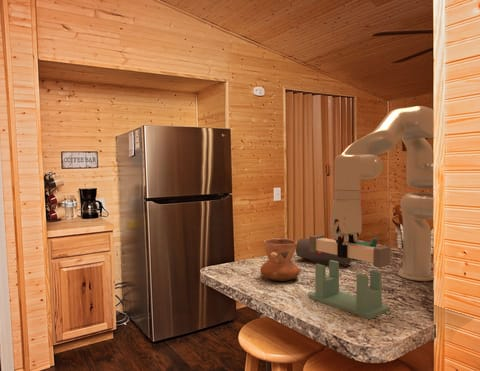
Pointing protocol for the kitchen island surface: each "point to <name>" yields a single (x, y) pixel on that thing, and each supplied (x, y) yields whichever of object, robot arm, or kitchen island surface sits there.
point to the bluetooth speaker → (317, 254)
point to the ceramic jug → (279, 260)
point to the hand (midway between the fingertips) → (346, 255)
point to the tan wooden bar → (352, 250)
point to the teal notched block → (367, 244)
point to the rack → (361, 304)
